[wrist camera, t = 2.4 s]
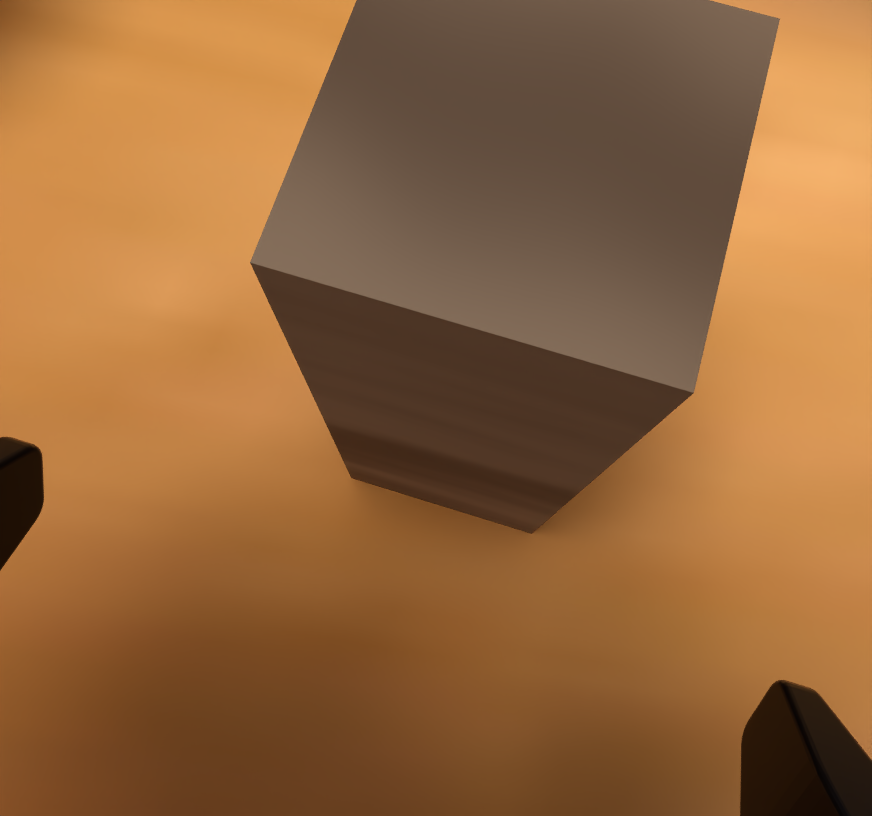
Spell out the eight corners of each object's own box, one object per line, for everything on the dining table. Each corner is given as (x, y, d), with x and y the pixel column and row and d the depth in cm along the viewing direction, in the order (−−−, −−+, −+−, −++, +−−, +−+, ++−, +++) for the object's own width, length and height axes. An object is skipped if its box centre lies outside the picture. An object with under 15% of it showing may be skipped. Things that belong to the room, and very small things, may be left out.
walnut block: (531, 533, 21) (693, 392, 8) (351, 477, 21) (249, 262, 9) (578, 361, 22) (780, 18, 10) (408, 311, 23) (390, -83, 10)
